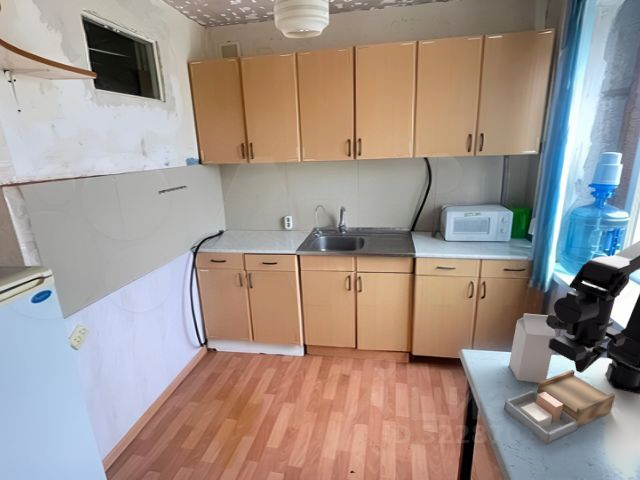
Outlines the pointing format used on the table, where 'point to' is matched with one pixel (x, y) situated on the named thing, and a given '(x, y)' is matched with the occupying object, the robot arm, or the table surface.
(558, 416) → the tile
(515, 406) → the tray
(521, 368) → the milk carton
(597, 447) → the table surface
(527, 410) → the tile
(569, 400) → the wooden box
